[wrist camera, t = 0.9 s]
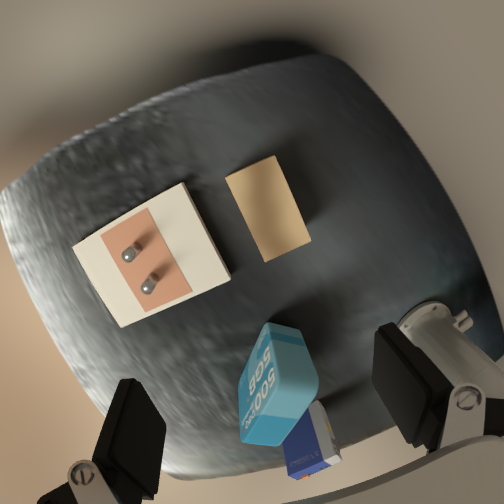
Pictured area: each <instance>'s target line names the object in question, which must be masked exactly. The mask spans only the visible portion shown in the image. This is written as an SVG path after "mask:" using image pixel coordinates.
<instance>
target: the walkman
mask: <svg viewBox="0 0 504 504" xmlns="http://www.w3.org/2000/svg"><path fill="white" fill-rule="evenodd" d="M282 444H283V450H284V455H285V461H286V466H287V472H288V476H290V477H292V478H294V479H296V480H299V479H305V478H308V477H309V476H310V475H311V474H314V473H316V472H318V471H320V470H323V469H325V468H327V467H329V466H331V465H334V464H336V463H338V462H340V461H342V458H341V455H340V450H339V447H338V444H337V441H336V439H335V438H334V435H333V432H332V429H331V426H330V423H329V420H328V418H327V415H326V412H325V409H324V407H323V406H322V404H321V403H320V402H319V401H318V400H317V401H315V402H313V403H311V404H310V405H309V406H308V408H307V409H306V411H305V412H304V413H303V415H302V416H301V418H300V419H299V420H298V422H297V423H296V425H295V426H294V427H293V429H292V430H291V431H290V433H289V434H288V435H287V437H286V438H285V439H284V440H283V442H282Z"/></svg>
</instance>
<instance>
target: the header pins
mask: <svg viewBox="0 0 504 504" xmlns="http://www.w3.org/2000/svg"><path fill="white" fill-rule="evenodd" d="M141 251H142V246H141V245H140V244H139V243H137V242H134V243H132V244H131V245H130V246H129V247H128V248H126V249H125V250H124V251H123V252H122V259H123V260H124V261H125V262H127V263H130V262H132V261H133V260H134V259H135V258H136V257H137V256H138V255H139V254H140V253H141ZM158 282H159V276H158V275H157V274H156V273H150V274H149V275H148V276H147V278H146V279H145V281H144V282H143V283H142V285H141V291H142V293H144V294H146V295H149V294H151V293H152V292H153V290H154V288H155V287H156V285H157V283H158Z"/></svg>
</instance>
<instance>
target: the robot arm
mask: <svg viewBox="0 0 504 504" xmlns="http://www.w3.org/2000/svg"><path fill="white" fill-rule="evenodd" d="M460 321H461V322H460ZM459 322H460V323H459ZM458 323H459V324H458ZM472 325H473V321H472V319H471V318H470V317H469V316H468V315H467V312H466V311H465V310H463V311H461V312H460V313H458V315H456V316H451V313H450V310H449V309H448V308H447V307H446V306H445V305H444V304H443V303H441V302H438V301H429V302H425V303H422V304H420V305H418V306H417V307H415V308H414V309H412V310H411V311H410V312H409V313H407V314H406V315H405V317H404V318H403V319H402V320H401V321H400V322H399V324H398V325H397V326H396V325H395V324H394V323H393V322H391V323H388V324H385V325H382V326H380V327H379V328H378V331H376V332H375V339H374V358H373V372H372V382H373V385H374V387H375V389H376V391H377V392H378V394H379V396H380V397H381V399H382V401H383V402H384V404H385V406H386V407H387V409H388V411H389V413H390V414H391V416H392V418H393V419H394V421H395V423H396V425H397V426H398V428H399V430H400V431H401V433H402V435H403V437H404V439H405V440H406V442H407V443H408V444H411V443H412V445H413V446H414V448H417V447H419V446H420V445H422V444H424V445H425V447H426V448H427V449H428V450H427V453H426V456H423V457H421V458H419V459H417V460H415V461H413V462H411V463H409V464H407V465H404V466H402V467H400V468H397V469H395V470H393V471H390V472H388V473H385V474H383V475H380V476H378V477H375V478H373V479H370V480H367V481H365V482H362V483H359V484H356V485H353V486H350V487H347V488H344V489H340V490H337V491H334V492H330V493H327V494H323V495H319V496H315V497H312V498H307V499H303V500H298V501H294V502H289V503H283V504H504V371H503V370H502V369H501V368H500V367H499V366H498V365H497V364H496V363H495V362H493V361H492V360H491V359H490V358H489V357H488V356H487V355H486V354H485V353H484V352H483V351H482V350H481V349H480V348H478V347H477V346H476V345H475V344H474V343H473V342H472V341H471V340H470V339H469V338H467V337H466V336H465V335H464V334H463V332H464V331H466V330H467V329H469V328H470V327H471V326H472ZM165 435H166V423H165V421H164V420H163V418H162V416H161V415H160V413H159V412H158V410H157V409H156V407H155V406H154V404H153V402H152V401H151V399H150V397H149V396H148V394H147V392H146V391H145V389H144V387H143V386H142V384H141V382H139V381H137V380H136V379H134V378H130V379H121V380H120V382H119V384H118V387H117V389H116V392H115V394H114V397H113V399H112V402H111V405H110V407H109V410H108V413H107V416H106V418H105V421H104V424H103V427H102V430H101V432H100V436H99V439H98V441H97V444H96V447H95V450H94V454H93V456H92V457H93V458H92V461H90V460H80V461H77V462H76V463H74V464H73V465H72V466H71V467H70V469H69V471H68V476H67V477H68V482H67V483H65V484H63V485H61V486H59V487H58V488H56V489H54V490H52V491H51V492H49V493H47V494H46V495H43V496H42V497H41V498H40V499H39V500H38V501H37V504H141V503H142V499H143V500H154V494H157V492H158V486H159V485H158V484H159V478H160V470H161V463H162V455H163V449H164V442H165Z"/></svg>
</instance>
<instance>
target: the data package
mask: <svg viewBox="0 0 504 504" xmlns="http://www.w3.org/2000/svg"><path fill="white" fill-rule="evenodd" d="M318 387H319V379H318V375H317V373H316V370H315V368H314V365H313V362H312V360H311V357H310V355H309V352H308V349H307V347H306V344H305V342H304V339H303V336H302V334H301V332H300V330H298V329H294V328H290V327H286V326H282V325H278V324H274V323H271V322H267V323H266V324H265V325H264V326H263V328H262V331H261V333H260V335H259V337H258V340H257V342H256V344H255V347H254V349H253V351H252V353H251V355H250V358H249V360H248V362H247V364H246V366H245V369H244V371H243V373H242V375H241V378H240V381H239V386H238V393H239V417H240V437H241V441H242V442H244V443H251V444H259V445H268V446H279V445H280V444H281V443H282V442H283V440H284V439H285V438H286V437H287V435H288V434H289V433H290V431H291V430H292V429H293V427H294V426H295V425H296V423H297V422H298V420H299V419H300V418H301V416H302V415H303V413H304V412H305V411H306V409H307V408H308V406H309V405H310V403H311V402H312V401H313V399H314V398H315V396H316V394H317V391H318Z"/></svg>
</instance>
